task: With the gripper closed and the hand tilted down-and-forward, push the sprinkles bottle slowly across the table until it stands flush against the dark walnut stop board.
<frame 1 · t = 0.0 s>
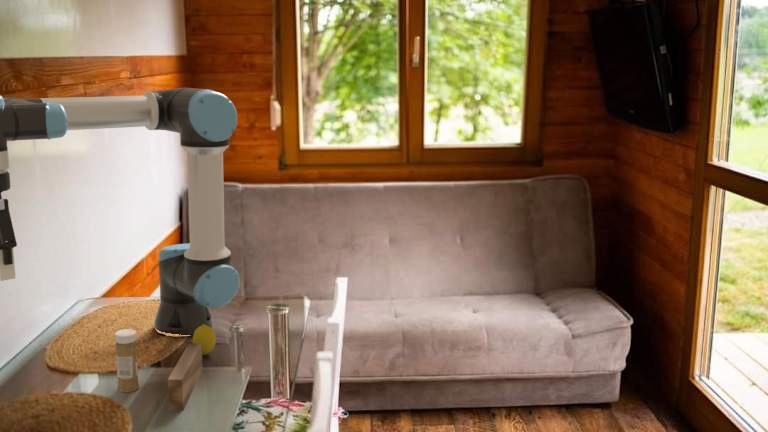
sprinkles bottle: (128, 389, 174), on the table
walnut stop board: (186, 389, 174), on the table
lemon: (204, 355, 194), on the table
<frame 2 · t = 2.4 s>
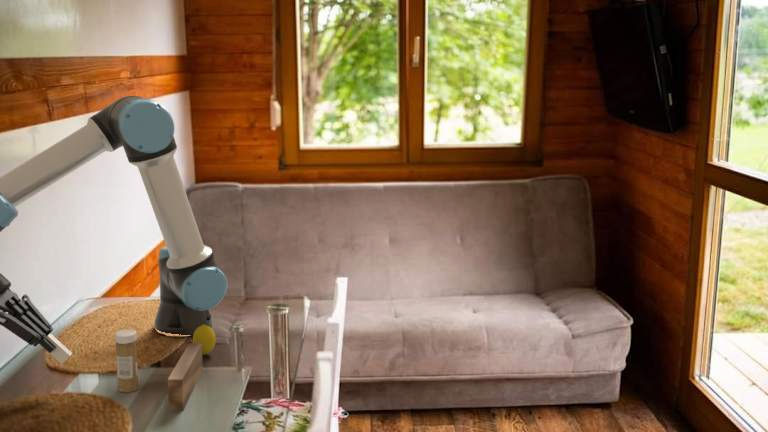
hand: (67, 358, 172), 7 cm above the table, tool tilted 45°, fingers closed
nothing on the table moved.
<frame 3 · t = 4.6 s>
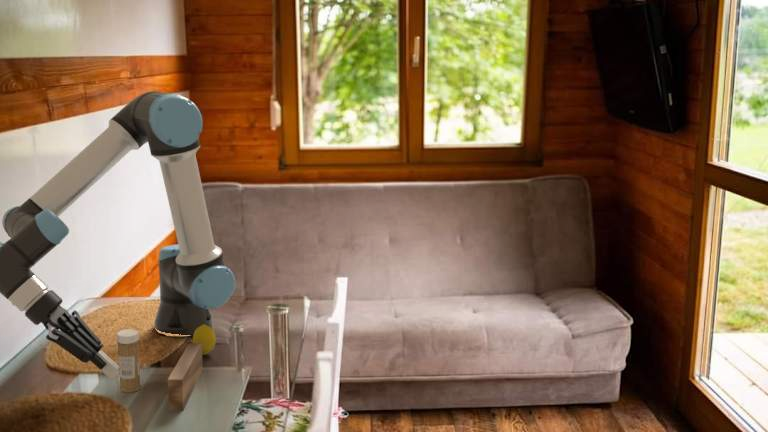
hand: (117, 374, 173), 4 cm above the table, tool tilted 45°, fingers closed
sprinkles bottle: (130, 389, 174), on the table, touching gripper
everything else where it was.
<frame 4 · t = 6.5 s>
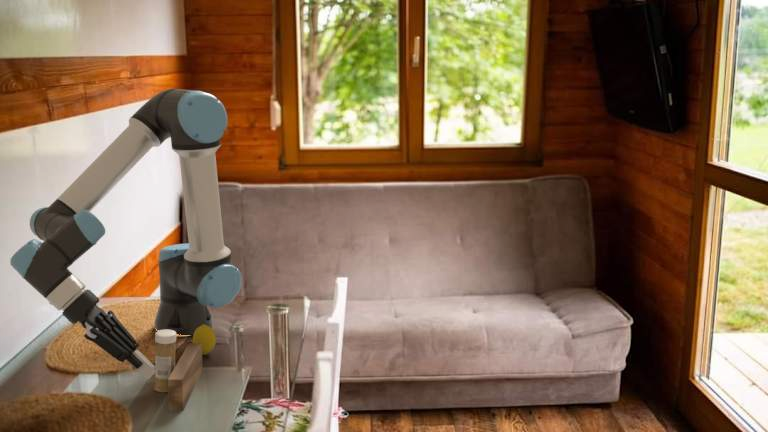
hand: (152, 374, 173), 4 cm above the table, tool tilted 45°, fingers closed
sprinkles bottle: (164, 389, 174), on the table, touching gripper
everything else where it was.
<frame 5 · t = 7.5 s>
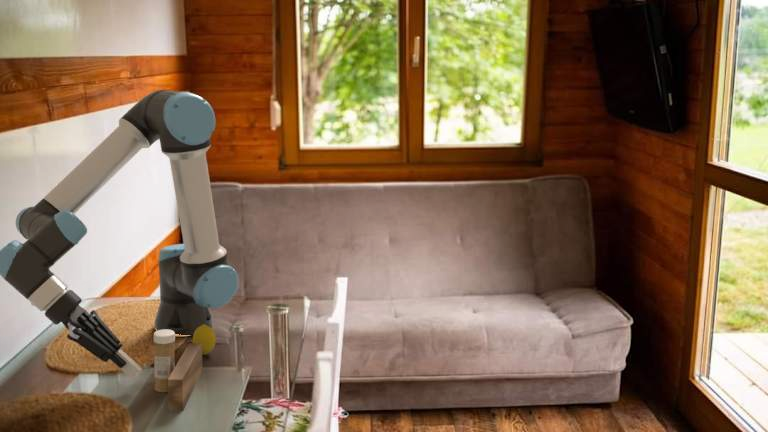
hand: (136, 373, 173), 4 cm above the table, tool tilted 45°, fingers closed
sprinkles bottle: (164, 389, 175), on the table
everything else where it was.
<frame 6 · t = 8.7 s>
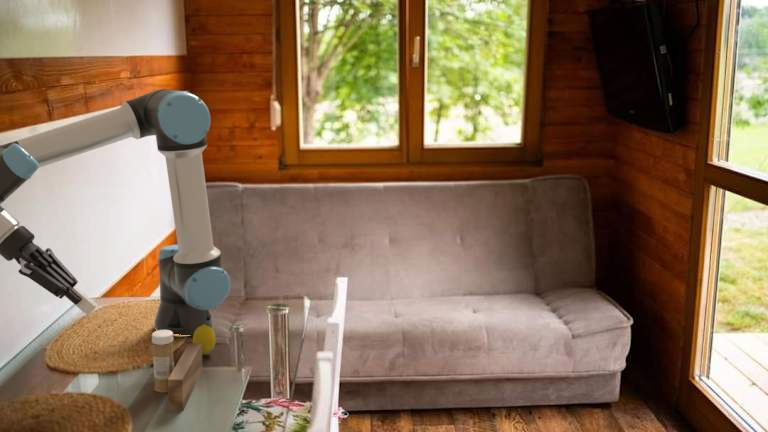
hand: (93, 310, 171), 18 cm above the table, tool tilted 45°, fingers closed
nothing on the table moved.
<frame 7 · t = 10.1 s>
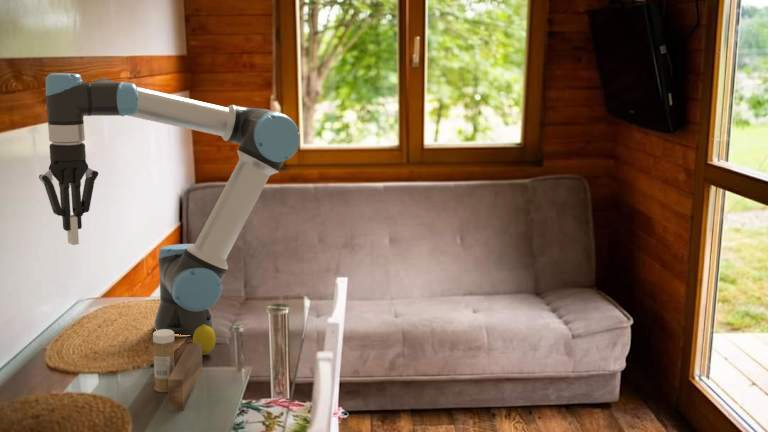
hand: (73, 243, 182), 29 cm above the table, tool pointing down, fingers closed
nothing on the table moved.
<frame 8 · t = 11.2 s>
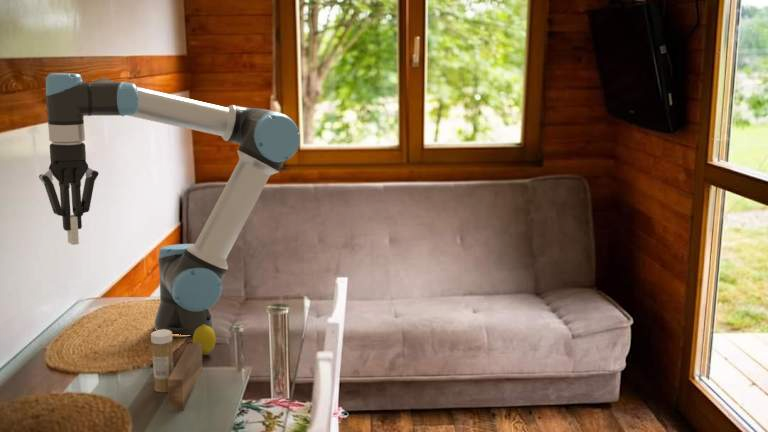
hand: (73, 243, 182), 29 cm above the table, tool pointing down, fingers closed
nothing on the table moved.
at the end: sprinkles bottle 4.9 cm from the walnut stop board (horizontally); sprinkles bottle inside the target area on the table beside the walnut stop board (0.8 cm from its centre), on the table; sprinkles bottle tilted 1° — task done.
